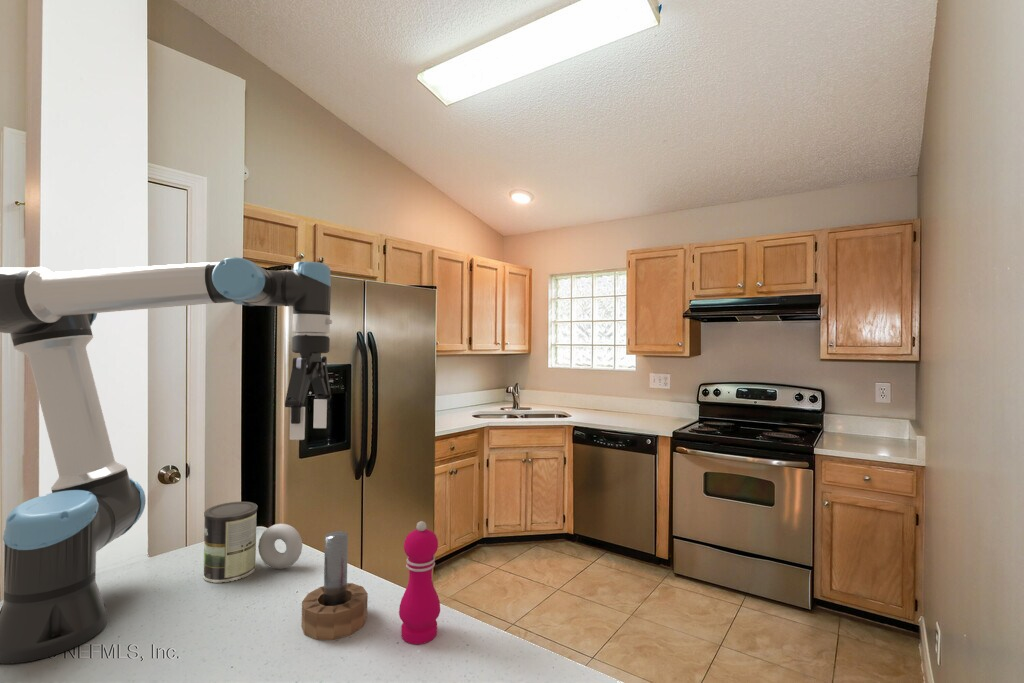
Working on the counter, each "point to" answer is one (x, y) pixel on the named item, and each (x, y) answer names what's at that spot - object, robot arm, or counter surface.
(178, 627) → the counter surface
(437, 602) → the pepper mill
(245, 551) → the coffee can
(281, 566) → the donut
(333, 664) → the counter surface
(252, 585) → the counter surface
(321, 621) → the bead
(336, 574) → the metal cylinder peg
